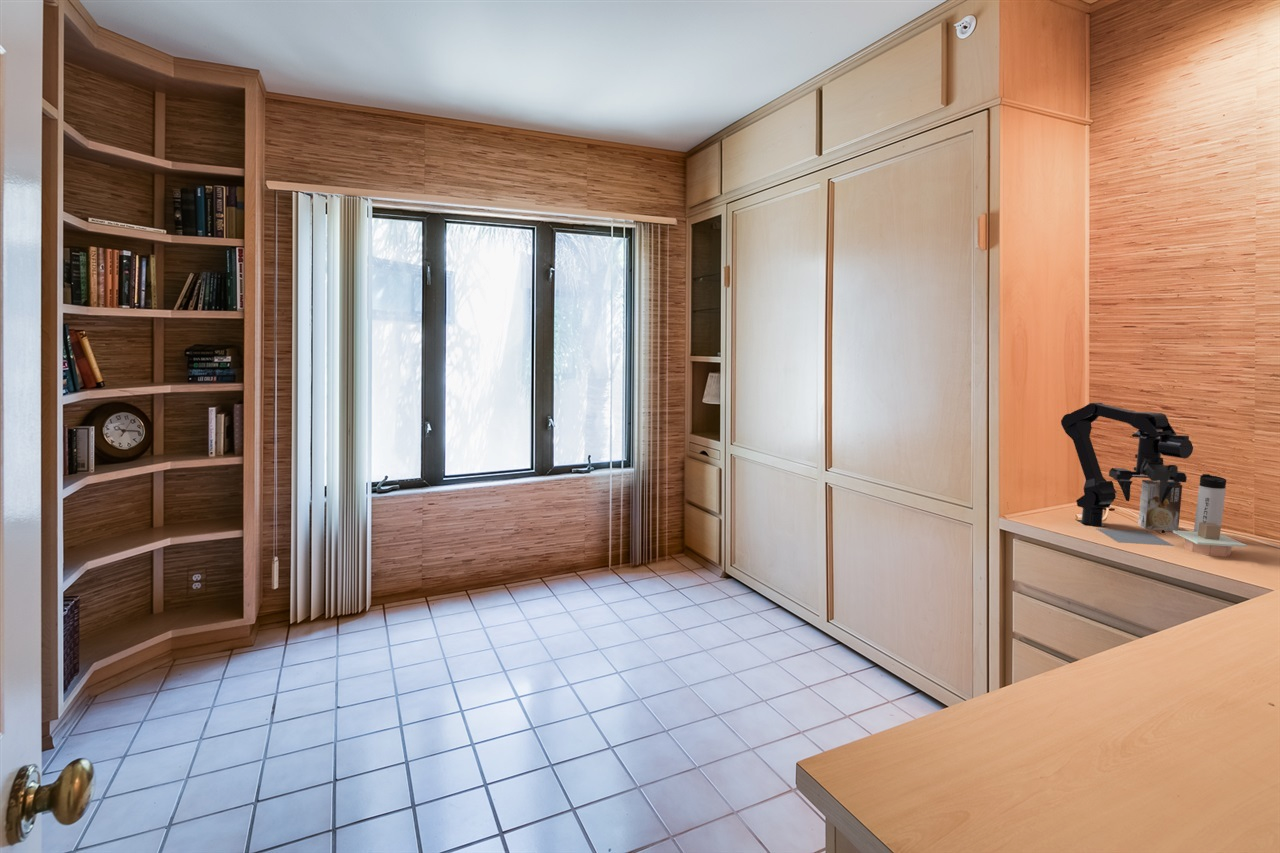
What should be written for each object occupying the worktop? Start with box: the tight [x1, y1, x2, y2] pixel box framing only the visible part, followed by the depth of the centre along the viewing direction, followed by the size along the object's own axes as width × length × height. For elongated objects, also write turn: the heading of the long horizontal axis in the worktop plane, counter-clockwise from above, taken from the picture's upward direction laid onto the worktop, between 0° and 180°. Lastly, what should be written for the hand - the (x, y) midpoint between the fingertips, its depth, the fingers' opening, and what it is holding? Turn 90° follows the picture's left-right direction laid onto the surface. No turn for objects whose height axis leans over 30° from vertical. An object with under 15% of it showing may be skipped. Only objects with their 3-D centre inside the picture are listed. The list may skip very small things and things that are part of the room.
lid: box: [1172, 522, 1248, 548], centre depth 187 cm, size 12×12×5 cm
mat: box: [1096, 528, 1175, 547], centre depth 202 cm, size 15×15×1 cm
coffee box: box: [1137, 479, 1183, 532], centre depth 210 cm, size 9×6×16 cm
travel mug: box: [1193, 473, 1227, 533], centre depth 201 cm, size 6×7×20 cm
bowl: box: [1184, 538, 1232, 558], centre depth 188 cm, size 10×10×4 cm
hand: (1144, 501), depth 200 cm, fingers open, 9 cm apart
